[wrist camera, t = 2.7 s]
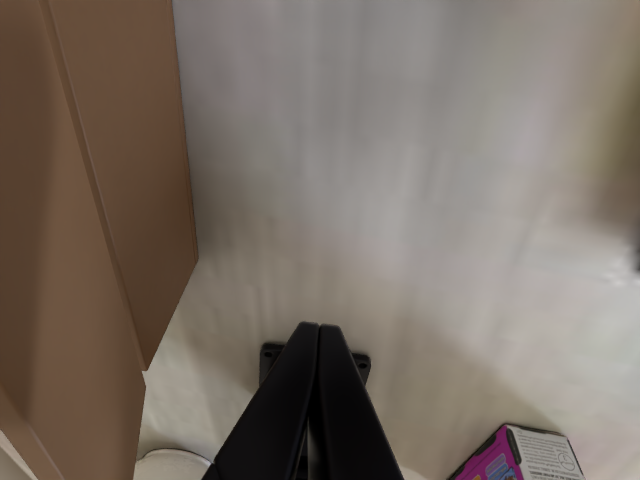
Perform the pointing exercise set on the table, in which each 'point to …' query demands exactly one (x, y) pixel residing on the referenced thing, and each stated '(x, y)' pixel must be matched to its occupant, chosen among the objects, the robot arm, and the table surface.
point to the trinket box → (170, 466)
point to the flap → (57, 281)
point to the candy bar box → (523, 457)
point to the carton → (131, 148)
